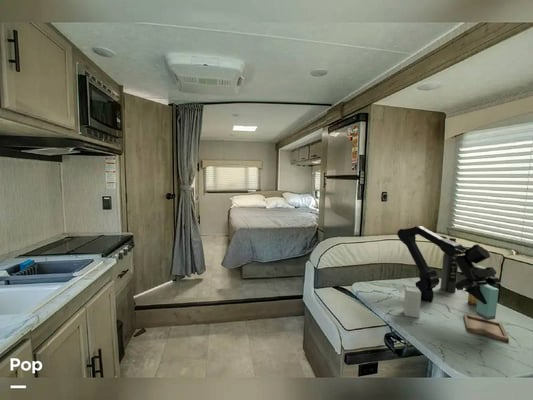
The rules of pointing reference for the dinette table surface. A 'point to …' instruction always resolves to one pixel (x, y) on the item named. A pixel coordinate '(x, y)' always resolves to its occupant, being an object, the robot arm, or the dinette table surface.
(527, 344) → the dinette table surface
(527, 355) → the dinette table surface
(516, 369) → the dinette table surface
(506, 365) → the dinette table surface
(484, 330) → the walnut tray
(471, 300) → the sauce bottle
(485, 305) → the teal block
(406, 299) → the skincare box
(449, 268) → the wine bottle
